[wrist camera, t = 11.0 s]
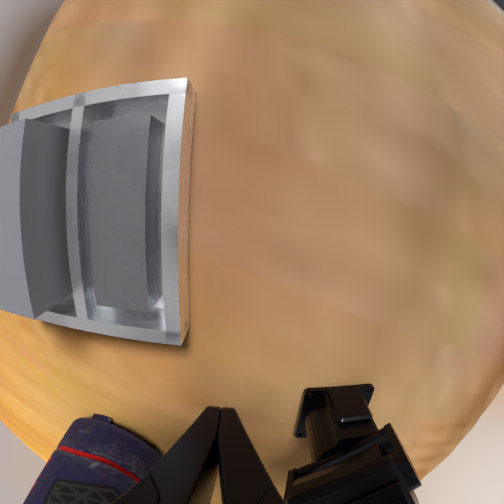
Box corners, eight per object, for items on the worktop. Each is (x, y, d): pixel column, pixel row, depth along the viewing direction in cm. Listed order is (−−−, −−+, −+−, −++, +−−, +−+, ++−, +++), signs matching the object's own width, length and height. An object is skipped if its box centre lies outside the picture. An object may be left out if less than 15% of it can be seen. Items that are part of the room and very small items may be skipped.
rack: (189, 325, 20) (179, 350, 17) (38, 302, 20) (16, 317, 16) (196, 93, 16) (185, 74, 13) (33, 119, 16) (8, 113, 13)
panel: (79, 288, 19) (34, 319, 13) (45, 283, 19) (0, 309, 13) (77, 131, 16) (25, 118, 10) (41, 138, 16) (-10, 131, 10)
